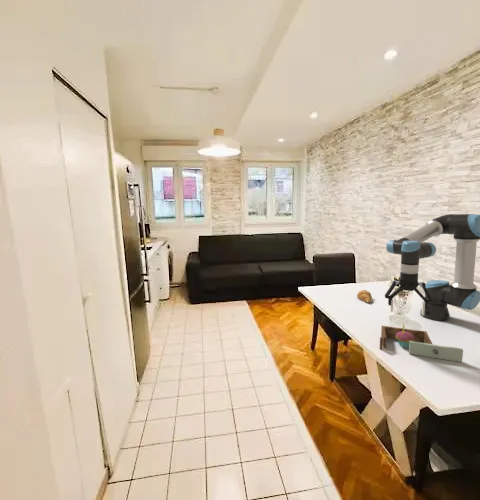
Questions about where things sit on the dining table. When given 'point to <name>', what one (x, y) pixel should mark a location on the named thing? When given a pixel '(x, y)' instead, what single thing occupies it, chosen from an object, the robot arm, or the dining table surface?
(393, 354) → the dining table surface
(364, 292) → the croissant
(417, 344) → the grey flat panel
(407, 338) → the cupcake
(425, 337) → the holder
